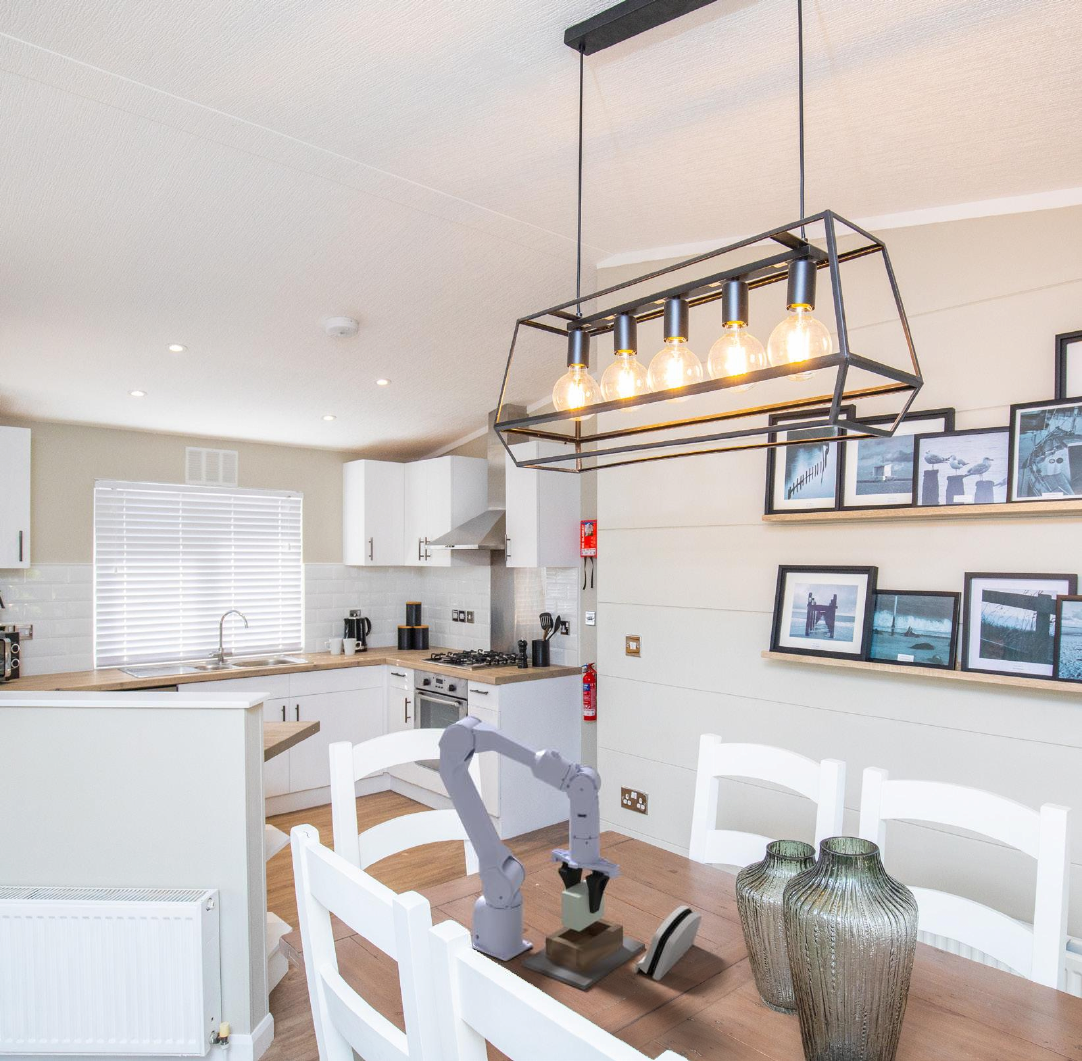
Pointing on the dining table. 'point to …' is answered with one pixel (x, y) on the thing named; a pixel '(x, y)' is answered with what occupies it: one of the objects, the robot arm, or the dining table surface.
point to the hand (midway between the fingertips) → (584, 908)
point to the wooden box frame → (584, 953)
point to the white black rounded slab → (670, 942)
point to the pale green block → (579, 907)
